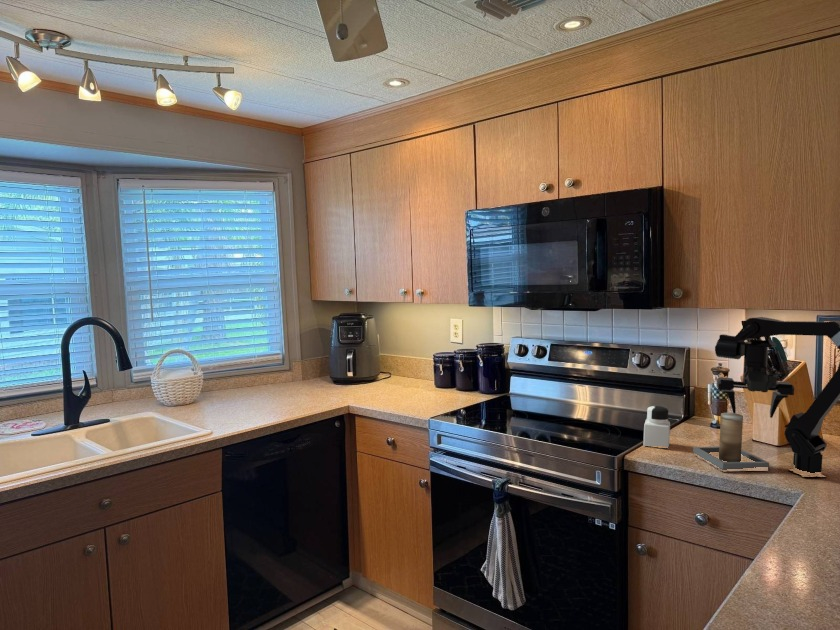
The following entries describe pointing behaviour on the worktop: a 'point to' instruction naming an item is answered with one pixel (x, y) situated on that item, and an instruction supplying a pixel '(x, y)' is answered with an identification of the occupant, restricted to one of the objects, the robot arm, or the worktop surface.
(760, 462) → the tray
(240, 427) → the worktop surface
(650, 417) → the medicine bottle
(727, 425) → the translucent brown jar
